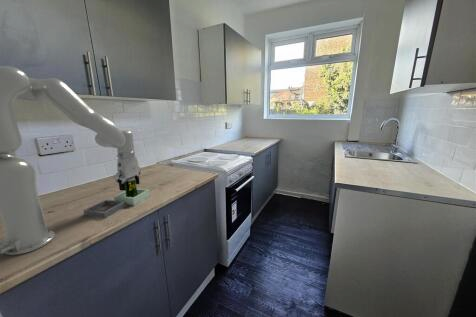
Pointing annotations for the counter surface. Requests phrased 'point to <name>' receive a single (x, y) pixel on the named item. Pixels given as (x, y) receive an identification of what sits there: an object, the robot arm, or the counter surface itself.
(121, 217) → the counter surface
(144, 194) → the green bin
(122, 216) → the counter surface
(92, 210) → the tray
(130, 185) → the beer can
